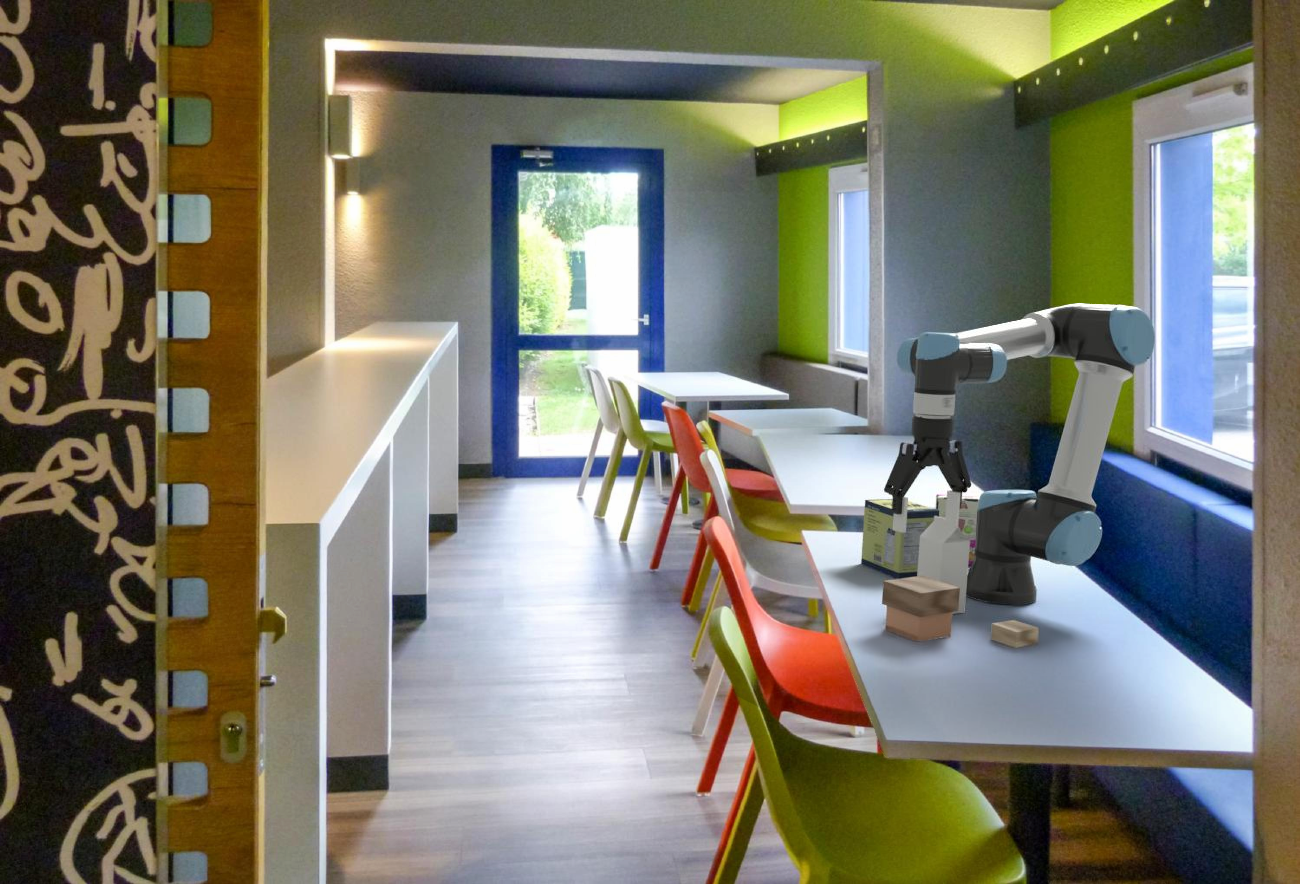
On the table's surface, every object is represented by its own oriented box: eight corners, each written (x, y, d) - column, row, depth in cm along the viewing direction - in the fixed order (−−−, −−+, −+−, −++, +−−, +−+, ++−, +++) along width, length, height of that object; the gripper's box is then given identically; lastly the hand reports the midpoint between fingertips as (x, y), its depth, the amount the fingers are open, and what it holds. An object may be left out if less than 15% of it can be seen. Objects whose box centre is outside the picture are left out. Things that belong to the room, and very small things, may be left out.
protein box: (896, 561, 293) (900, 497, 291) (936, 577, 279) (941, 509, 277) (859, 564, 289) (863, 499, 287) (898, 579, 275) (902, 511, 273)
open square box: (917, 624, 239) (919, 599, 238) (950, 636, 232) (952, 610, 231) (885, 629, 235) (887, 604, 234) (917, 641, 227) (919, 615, 227)
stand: (1012, 635, 234) (1013, 619, 234) (1037, 643, 229) (1038, 628, 229) (990, 639, 231) (991, 623, 231) (1015, 647, 226) (1016, 632, 226)
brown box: (919, 598, 239) (921, 575, 239) (958, 611, 231) (959, 587, 230) (881, 603, 234) (883, 580, 233) (919, 617, 226) (921, 593, 225)
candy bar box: (978, 563, 295) (983, 496, 292) (980, 568, 290) (986, 499, 288) (931, 559, 296) (936, 493, 294) (932, 564, 292) (937, 496, 289)
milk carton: (937, 616, 245) (944, 523, 243) (914, 607, 252) (920, 516, 249) (964, 613, 249) (971, 521, 246) (941, 604, 255) (948, 514, 252)
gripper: (898, 420, 218) (890, 537, 221) (995, 416, 231) (987, 526, 234) (869, 415, 224) (862, 529, 227) (965, 411, 237) (957, 519, 240)
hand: (925, 528), depth 231 cm, fingers open, 13 cm apart
